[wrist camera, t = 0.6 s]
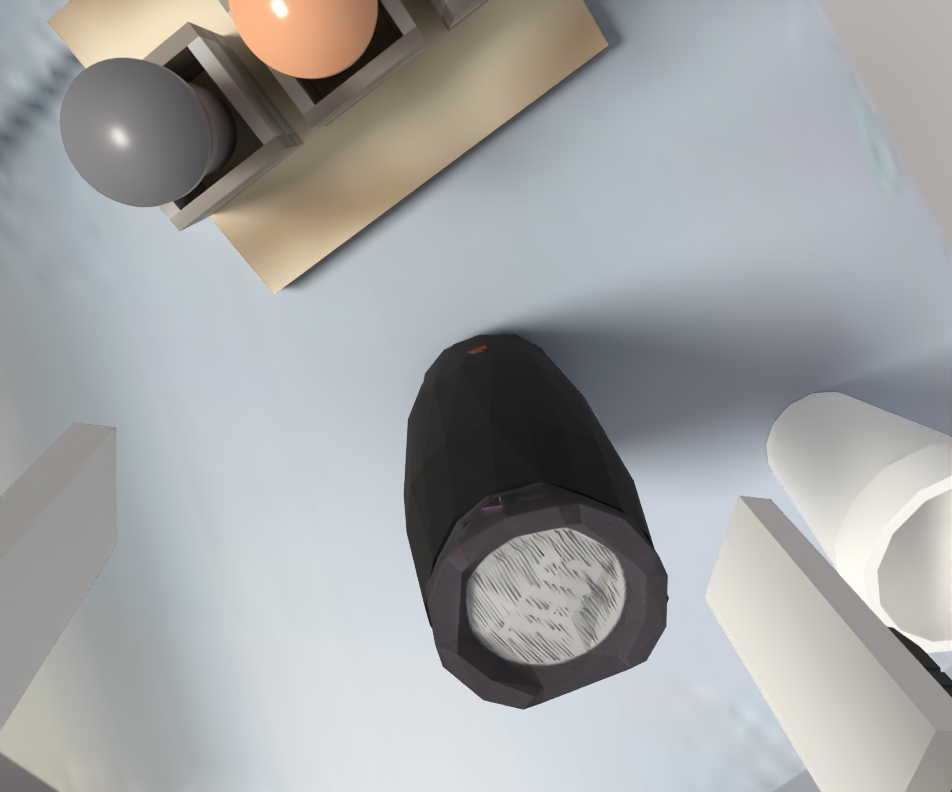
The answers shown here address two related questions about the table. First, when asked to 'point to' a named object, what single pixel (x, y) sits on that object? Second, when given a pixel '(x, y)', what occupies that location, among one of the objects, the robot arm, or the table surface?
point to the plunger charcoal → (144, 131)
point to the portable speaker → (525, 528)
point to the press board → (340, 108)
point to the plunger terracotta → (306, 33)
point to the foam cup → (874, 506)
